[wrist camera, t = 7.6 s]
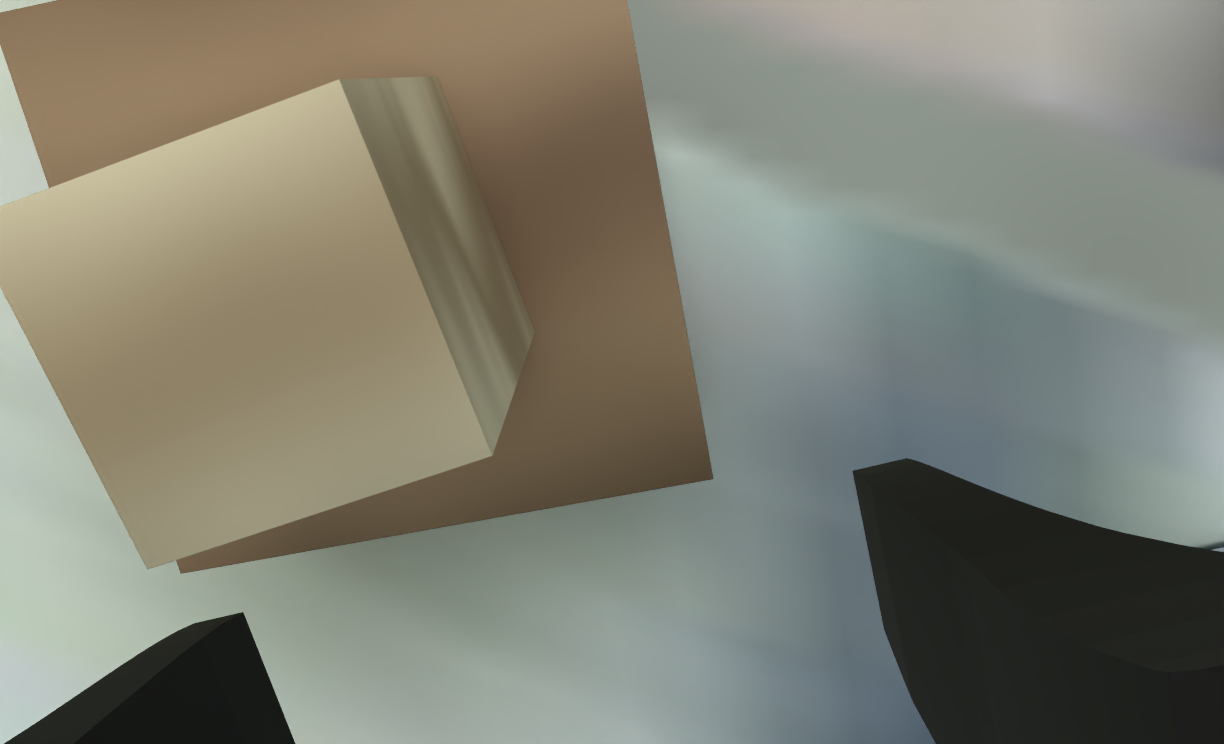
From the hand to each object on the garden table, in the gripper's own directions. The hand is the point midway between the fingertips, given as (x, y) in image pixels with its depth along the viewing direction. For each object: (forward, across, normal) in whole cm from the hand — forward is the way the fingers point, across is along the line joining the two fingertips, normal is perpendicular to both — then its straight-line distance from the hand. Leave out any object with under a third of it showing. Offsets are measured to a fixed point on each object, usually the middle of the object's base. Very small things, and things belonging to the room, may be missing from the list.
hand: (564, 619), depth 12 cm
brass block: (+7, +3, -4) cm, 8 cm away
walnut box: (+11, +3, -4) cm, 12 cm away
